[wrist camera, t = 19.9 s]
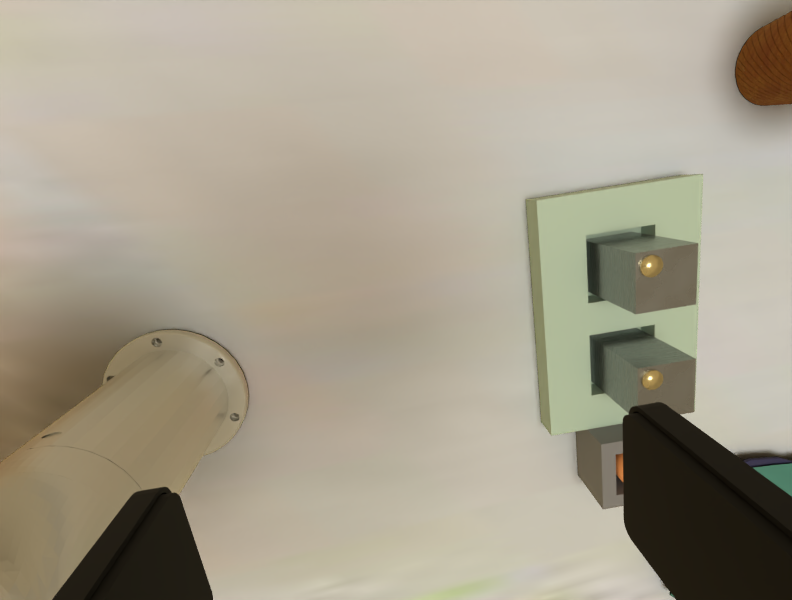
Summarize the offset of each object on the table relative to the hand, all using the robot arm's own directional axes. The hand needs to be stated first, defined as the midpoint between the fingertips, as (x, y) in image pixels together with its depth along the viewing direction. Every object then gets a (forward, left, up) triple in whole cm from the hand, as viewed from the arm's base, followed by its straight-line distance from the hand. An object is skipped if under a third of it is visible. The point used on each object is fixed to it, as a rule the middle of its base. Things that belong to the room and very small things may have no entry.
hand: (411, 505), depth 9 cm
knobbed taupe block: (+16, -13, -30) cm, 36 cm away
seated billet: (+12, -21, -30) cm, 38 cm away
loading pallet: (+12, -20, -30) cm, 38 cm away
